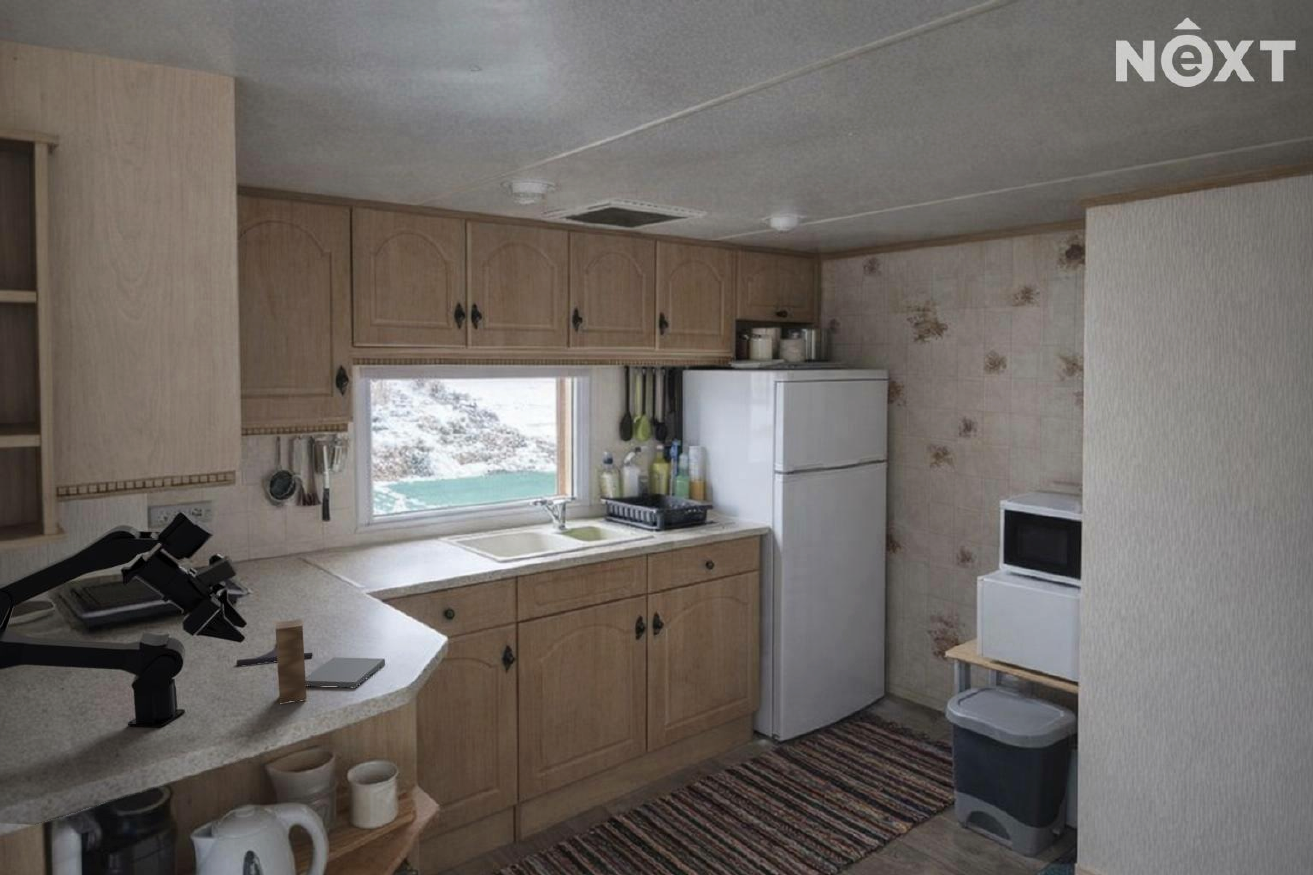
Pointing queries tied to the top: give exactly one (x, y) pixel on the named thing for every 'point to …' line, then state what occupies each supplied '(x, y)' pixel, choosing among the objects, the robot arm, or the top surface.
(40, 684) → the top surface
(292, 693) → the walnut block
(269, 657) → the squeegee
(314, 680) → the far plate
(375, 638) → the top surface
